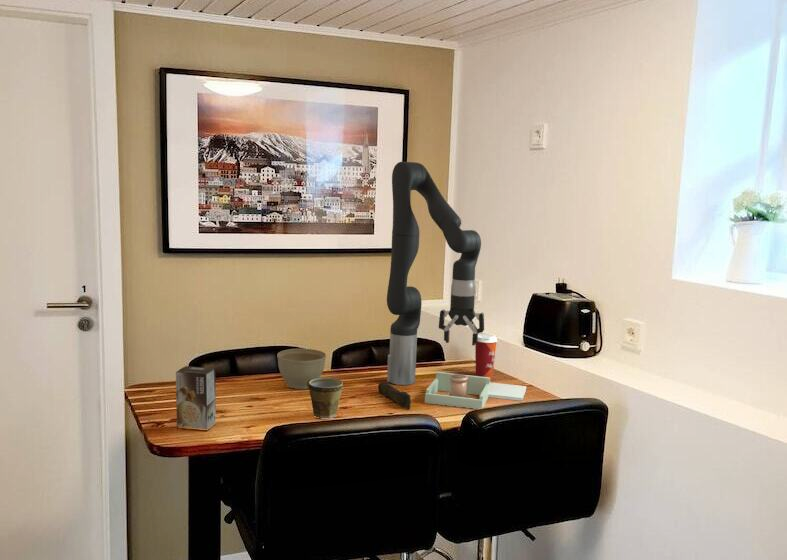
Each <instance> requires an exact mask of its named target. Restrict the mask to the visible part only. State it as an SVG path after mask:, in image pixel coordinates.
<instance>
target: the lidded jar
mask: <svg viewBox="0 0 787 560" xmlns="http://www.w3.org/2000/svg"><path fill="white" fill-rule="evenodd" d="M452 374H453V375H450V380H451V382H450V392H449V396H456V397H465V398H467V394H466V387H467V381H468V376H466V375H467V374H460V373H452Z"/></svg>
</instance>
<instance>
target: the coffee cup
mask: <svg viewBox="0 0 787 560" xmlns="http://www.w3.org/2000/svg"><path fill="white" fill-rule="evenodd" d="M497 343H498V339H497V336H496V335H494V334H489V333H488V334H486V333H485V334H484V333H478V342H477V343H476V344H475V346H474V347H475V352H474V354H475V376H479V377H488V378H490V380H491V379H492V378H493V374H494V369H495V359H496V350H497V349H496V348H497Z"/></svg>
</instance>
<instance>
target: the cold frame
mask: <svg viewBox="0 0 787 560" xmlns="http://www.w3.org/2000/svg"><path fill="white" fill-rule="evenodd" d="M453 374H454V373H452V372H451V373H450V372H443V371H435V379H434V380H433V381H432V382H431V383H430V384H429V386H428V387H427V388H426V390H425V394H424V403H425V404H430V405H437V404H438V405H439V406H445V405H447V407H453V406H456V407H455V408H461V407H466V408H465V409H469V408H473V409H472V410H478V409H479V408H484V406H485V405H486V403H487V401H488V399H489V397H488V394H489V389H490V382H491V379H490V378H488V377H479V376H476V375H470V374H469V375H468V374H465V375H466V376H468V381H467V387H466V393H467V394H468V395H475V396H479V393H480V392H482V393H481V395H480V396H479V398H471V397H466V398H465V397H456V396H450V395H447V394H437V392H438V391H440V392H441V391H442V392H449V393H450V382H451V380H450V375H453ZM467 394H466V395H467Z"/></svg>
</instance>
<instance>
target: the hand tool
mask: <svg viewBox="0 0 787 560" xmlns="http://www.w3.org/2000/svg"><path fill="white" fill-rule="evenodd" d="M389 383H390V382H387V381H381V382H380V383H379V384H378V385H377V388H378V393H379V394H381V395H385V396H387V398H389V399H391V400H393V401H394V402H396V403H397V406H398V407H400V408H403V409H406V410H410V409H411V403H412V401H411V395H410V393H407V391H403V390H402V391H400V390H398V389H397V388H396V387H393V386H392V385H391V384H389Z"/></svg>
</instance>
